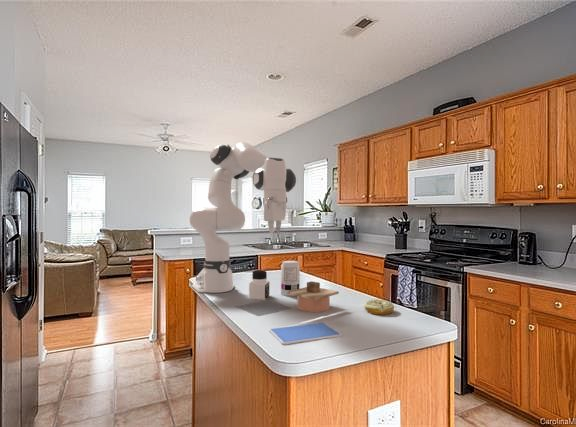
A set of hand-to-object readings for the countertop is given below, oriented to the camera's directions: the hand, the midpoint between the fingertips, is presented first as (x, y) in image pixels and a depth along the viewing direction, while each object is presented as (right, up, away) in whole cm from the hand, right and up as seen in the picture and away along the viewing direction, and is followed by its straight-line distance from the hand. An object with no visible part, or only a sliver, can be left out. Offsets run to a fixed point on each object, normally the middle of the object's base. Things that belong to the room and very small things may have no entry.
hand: (274, 232), depth 141 cm
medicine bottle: (-7, -29, +10) cm, 32 cm away
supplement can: (+6, -29, +16) cm, 34 cm away
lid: (+15, -23, -5) cm, 28 cm away
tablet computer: (+10, -30, -33) cm, 46 cm away
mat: (-4, -29, -6) cm, 30 cm away
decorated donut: (+40, -30, -8) cm, 50 cm away
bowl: (+15, -29, -5) cm, 33 cm away
